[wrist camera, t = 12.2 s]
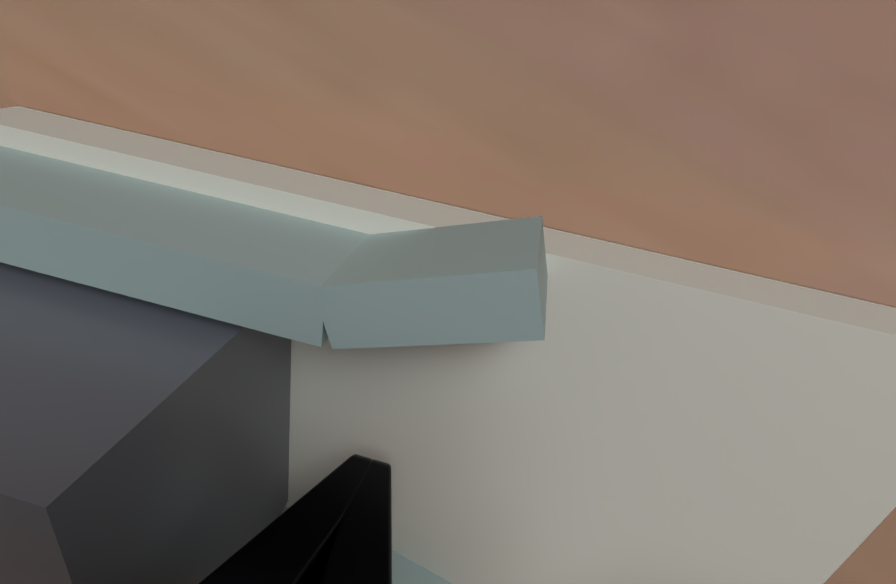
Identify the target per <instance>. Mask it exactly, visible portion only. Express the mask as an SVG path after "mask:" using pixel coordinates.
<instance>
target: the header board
mask: <svg viewBox="0 0 896 584" xmlns="http://www.w3.org/2000/svg"><path fill="white" fill-rule="evenodd" d="M0 262H2V263H5V264H9V265H13V266H17V267H20V268H24V269H28V270H32V271H35V272H39V273H43V274H47V275H50V276H54V277H58V278H62V279H65V280H69V281H73V282H77V283H81V284H84V285H88V286H92V287H96V288H99V289H103V290H107V291H111V292H114V293H118V294H122V295H126V296H129V297H133V298H137V299H141V300H145V301H148V302H152V303H156V304H160V305H163V306H167V307H171V308H175V309H178V310H182V311H186V312H190V313H193V314H197V315H201V316H205V317H209V318H212V319H216V320H220V321H224V322H227V323H231V324H235V325H239V326H242V327H246V328H250V329H254V330H257V331H261V332H265V333H269V334H272V335H276V336H280V337H284V338H288V339H291V381H290V431H289V481H288V502H287V504H286V505H285V507H284V509H283V510H282V512H281V514H282V513H283V512H285V511H286V510H287V509H288V508H289V507H290V506H292V505H293V504H294V503H295V502H296V501H298V500H299V499H300V498H301V497H302V496H304V495H305V494H306V493H307V492H308V491H310V490H311V489H312V488H313V487H314V486H316V485H317V484H318V483H319V482H320V481H322V480H323V479H324V478H325V477H326V476H328V475H329V474H330V473H331V472H332V471H333V470H335V469H336V468H337V467H338V466H339V465H341V464H342V463H343V462H344V461H345V460H347V459H348V458H349V457H350V456H352V455H354V454H358V455H361V456H365V457H368V458H371V459H375V460H379V461H382V462H386V463H389V464H390V465H391V486H392V584H823V583H824V582H825V581H826V580H827V579H828V578H829V577H830V576H831V575H832V574H833V573H834V572H835V571H836V570H837V569H838V568H839V566H840V565H841V564H842V563H843V562H844V561H845V560H846V559H847V558H848V557H849V556H850V555H851V554H852V553H853V552H854V550H855V549H856V548H857V547H858V546H859V545H860V544H861V543H862V542H863V541H864V540H865V539H866V538H867V537H868V536H869V535H870V533H871V532H872V531H873V530H874V529H875V528H876V527H877V526H878V525H879V524H880V523H881V522H882V521H883V520H884V519H885V517H886V516H887V515H888V514H889V513H890V512H891V511H892V510H893V509H894V508H895V507H896V308H894V307H889V306H885V305H881V304H876V303H872V302H867V301H863V300H859V299H854V298H850V297H846V296H841V295H837V294H833V293H828V292H824V291H820V290H815V289H811V288H807V287H802V286H798V285H794V284H789V283H785V282H781V281H776V280H772V279H768V278H763V277H759V276H755V275H750V274H746V273H742V272H737V271H733V270H728V269H724V268H720V267H715V266H711V265H707V264H702V263H698V262H694V261H689V260H685V259H681V258H676V257H672V256H668V255H663V254H659V253H655V252H650V251H646V250H642V249H637V248H633V247H629V246H624V245H620V244H616V243H611V242H607V241H603V240H598V239H594V238H589V237H585V236H581V235H576V234H572V233H568V232H563V231H559V230H555V229H550V228H546V227H543V221H542V216H537V217H528V218H518V219H507V218H503V217H498V216H494V215H490V214H485V213H481V212H477V211H472V210H468V209H464V208H459V207H455V206H450V205H446V204H442V203H437V202H433V201H429V200H424V199H420V198H416V197H411V196H407V195H403V194H398V193H394V192H390V191H385V190H381V189H377V188H372V187H368V186H364V185H359V184H355V183H351V182H346V181H342V180H338V179H333V178H329V177H325V176H320V175H316V174H312V173H307V172H303V171H298V170H294V169H290V168H285V167H281V166H277V165H272V164H268V163H264V162H259V161H255V160H251V159H246V158H242V157H238V156H233V155H229V154H225V153H220V152H216V151H212V150H207V149H203V148H199V147H194V146H190V145H186V144H181V143H177V142H173V141H168V140H164V139H159V138H155V137H151V136H146V135H142V134H138V133H133V132H129V131H125V130H120V129H116V128H112V127H107V126H103V125H99V124H94V123H90V122H86V121H81V120H77V119H73V118H68V117H64V116H60V115H55V114H51V113H47V112H42V111H38V110H34V109H29V108H25V107H20V106H17V107H9V108H1V109H0ZM281 514H280V515H281ZM280 515H279V516H280Z"/></svg>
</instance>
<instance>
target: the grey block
mask: <svg viewBox="0 0 896 584" xmlns="http://www.w3.org/2000/svg"><path fill="white" fill-rule="evenodd" d="M290 381H291V339H288V338H284V337H280V336H276V335H272V334H269V333H265V332H261V331H257V330H254V329H250V328H246V327H242V326H239V325H235V324H231V323H227V322H224V321H220V320H216V319H212V318H209V317H205V316H201V315H197V314H193V313H190V312H186V311H182V310H178V309H175V308H171V307H167V306H163V305H160V304H156V303H152V302H148V301H145V300H141V299H137V298H133V297H129V296H126V295H122V294H118V293H114V292H111V291H107V290H103V289H99V288H96V287H92V286H88V285H84V284H81V283H77V282H73V281H69V280H65V279H62V278H58V277H54V276H50V275H47V274H43V273H39V272H35V271H32V270H28V269H24V268H20V267H17V266H13V265H9V264H5V263H2V262H0V584H199V583H200V582H201V581H202V580H203V579H204V578H206V577H207V576H208V575H209V574H210V573H212V572H213V571H214V570H215V569H216V568H218V567H219V566H220V565H221V564H222V563H224V562H225V561H226V560H227V559H228V558H230V557H231V556H232V555H233V554H234V553H236V552H237V551H238V550H239V549H240V548H242V547H243V546H244V545H245V544H246V543H247V542H249V541H250V540H251V539H252V538H253V537H255V536H256V535H257V534H258V533H259V532H261V531H262V530H263V529H264V528H265V527H267V526H268V525H269V524H270V523H271V522H273V521H274V520H275V519H276V518H277V517H279V515H280V514H281V512H282V510H283V509H284V507H285V505H286V504H287V502H288V481H289V431H290Z"/></svg>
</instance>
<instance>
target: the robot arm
mask: <svg viewBox="0 0 896 584" xmlns="http://www.w3.org/2000/svg"><path fill="white" fill-rule="evenodd" d="M199 584H392V486H391V465H390V464H389V463H386V462H382V461H379V460H375V459H371V458H368V457H365V456H361V455H358V454H354V455H352V456H350V457H349V458H348V459H347V460H345V461H344V462H343V463H342V464H341V465H339V466H338V467H337V468H336V469H335V470H333V471H332V472H331V473H330V474H329V475H328V476H326V477H325V478H324V479H323V480H322V481H320V482H319V483H318V484H317V485H316V486H314V487H313V488H312V489H311V490H310V491H308V492H307V493H306V494H305V495H304V496H302V497H301V498H300V499H299V500H298V501H296V502H295V503H294V504H293V505H292V506H290V507H289V508H288V509H287V510H286V511H285V512H283V513H282V514H281V515H280V516H279V517H277V518H276V519H275V520H274V521H273V522H271V523H270V524H269V525H268V526H267V527H265V528H264V529H263V530H262V531H261V532H259V533H258V534H257V535H256V536H255V537H253V538H252V539H251V540H250V541H249V542H247V543H246V544H245V545H244V546H243V547H242V548H240V549H239V550H238V551H237V552H236V553H234V554H233V555H232V556H231V557H230V558H228V559H227V560H226V561H225V562H224V563H222V564H221V565H220V566H219V567H218V568H216V569H215V570H214V571H213V572H212V573H210V574H209V575H208V576H207V577H206V578H204V579H203V580H202V581H201V582H200V583H199Z"/></svg>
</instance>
